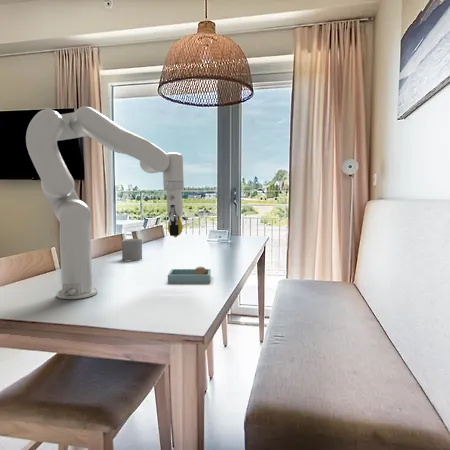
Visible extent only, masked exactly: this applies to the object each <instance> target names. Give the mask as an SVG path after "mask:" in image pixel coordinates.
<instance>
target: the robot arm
mask: <svg viewBox="0 0 450 450" xmlns="http://www.w3.org/2000/svg"><path fill="white" fill-rule="evenodd" d="M25 134H26V135H25V143H26V148H27V151H28V155H29V157H30V160H31V162H32V164H33V166H34V168H35V170H36V173H37V174H38V176H39V178H40V180H41V181H40V186H41V190H42V192H43V194H44V196H45V198H46V200H47V202H48V204H49V206H50V208H51V210H52V211H53V214H54V215H55V217H56V219H57V220H58V222H59V252H60V256H59V257H60V274H61V275H60V277H61V278H60V280H61V290H59V291H57V292H56V297H57V298H59V299H62V300H77V299H80V300H81V299H85V298H91V297H93V296H94V295H97V293H98V288H97V287H94V286H93V266H92V265H93V264H92V263H93V261H92V221H93V220H92V219H93V218H92V212H91V209H90V207H89V206H88V204H87V203H85V202H84V201H82V200H81V199H80V198H79V196H78V194H77V192H76V189H75V180H74V178H73V176H72V174H71V173H70V170H69V169H68V167H67V164H66V163H65V160H64V159H63V156H62V155H61V152H60V148H59V146H58V141H65V140H72V139H78V138H82V137H83V138H84V137H87V136H88V137H89V138H91V139H93V140H94V141H96V142H98V143H99V144H101V145H102V146H103V147H105V148H107V149H108V150H110V151H112V152H115V153H117V154H122V155H127V156H128V157H132V158H133V159H135V160H138V161H139V167H140V168H141V170H142V171H143V172H145V173H146V174H157V173H162V179H163V180H162V181H163V182H162V183H163V191H166V210H167V217H168V218H169V220H170V233H169V235H170V237H174V236H177V237H178V236H180V235H179V227H178V218H179V219H180V220H181V217H182V216H184V210H183V209H184V208H183V207H184V205H183V194H182V191H184V190H185V182H184V158H183V155H182V154H181V153H179V152H168V153H166V152H165V151H164V150H163V149H162V148H160V147H159V146H157V145H156V144H154V143H152V142H151V141H149V140H148V139H146V138H143V137H142V136H139V135H137V134H135V133H133V132H131V131H129V130H126V129H125V128H123V127H122V126H120V125H118V124H117V123H115V122H114V121H113V120H110V119H109V118H108V117H107V116H105V115H103V114H102V113H100V112H99V111H97V110H96V109H94V108H92V107H90V106H80V107H79V108H77V109H76V110H75V111H73V112H68V113H62V114H60V113H59V112H58V111H56V110H54V109H52V108H44V109H42V110H40V111H38V112H37V113H36V114H35V115H34V116H33V118H32V119H31V120H30V122H29V124H28V126H27V129H26V133H25Z"/></svg>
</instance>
